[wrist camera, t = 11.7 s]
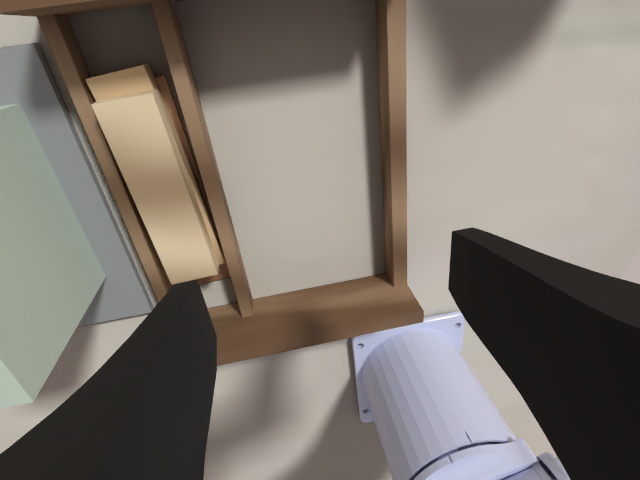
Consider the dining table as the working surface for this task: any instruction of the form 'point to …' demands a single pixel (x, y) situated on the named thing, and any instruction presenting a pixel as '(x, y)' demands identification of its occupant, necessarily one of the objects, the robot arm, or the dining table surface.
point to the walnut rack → (247, 314)
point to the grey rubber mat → (74, 181)
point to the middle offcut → (145, 81)
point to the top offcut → (158, 183)
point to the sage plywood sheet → (37, 263)
